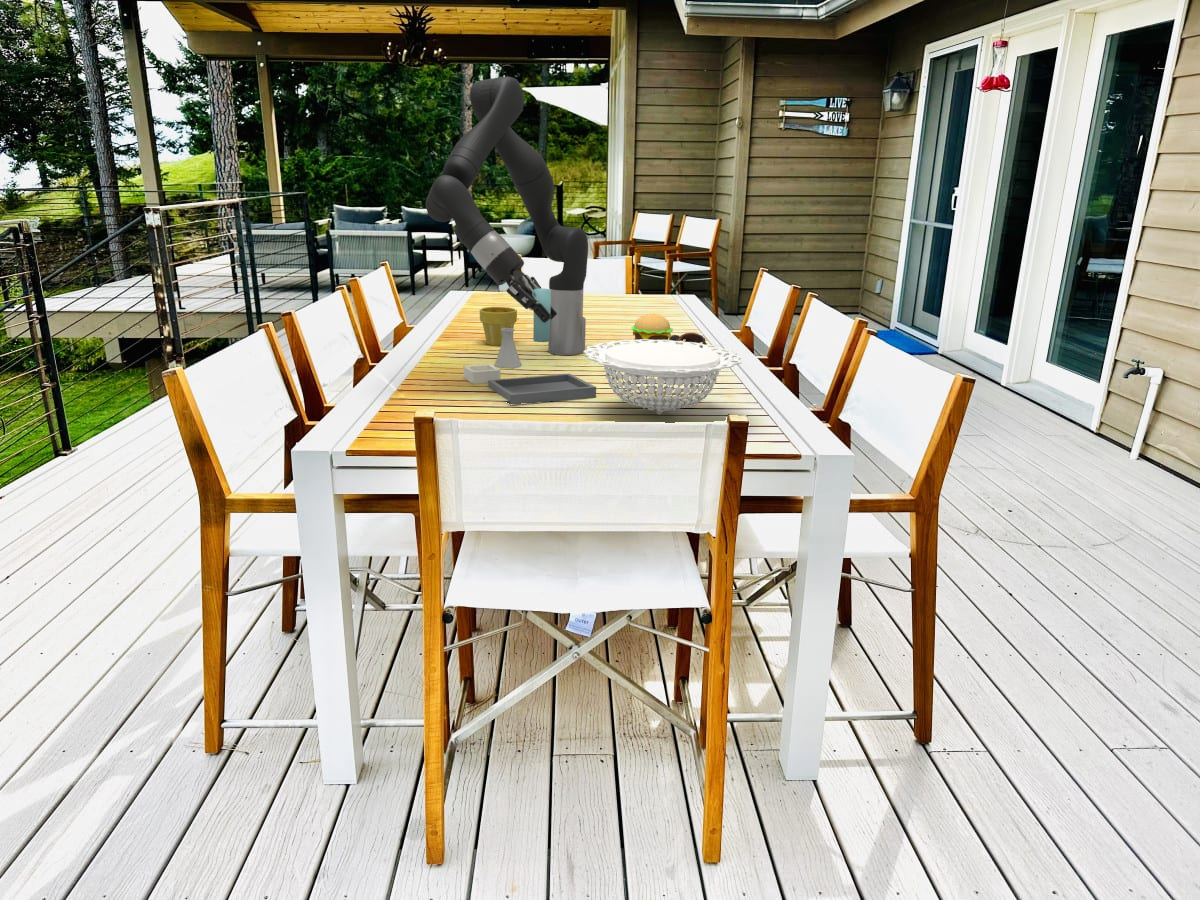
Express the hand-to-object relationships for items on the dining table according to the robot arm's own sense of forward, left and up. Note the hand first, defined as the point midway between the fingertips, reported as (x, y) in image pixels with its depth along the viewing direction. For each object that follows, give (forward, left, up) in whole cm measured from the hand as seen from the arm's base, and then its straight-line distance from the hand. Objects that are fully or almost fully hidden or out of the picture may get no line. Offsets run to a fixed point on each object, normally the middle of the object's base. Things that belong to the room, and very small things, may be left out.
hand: (550, 318), depth 183 cm
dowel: (+2, -1, -5) cm, 5 cm away
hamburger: (-51, -44, -17) cm, 70 cm away
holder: (+11, -15, -17) cm, 25 cm away
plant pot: (-9, -58, -17) cm, 61 cm away
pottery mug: (-50, -23, -17) cm, 58 cm away
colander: (-14, +23, -17) cm, 32 cm away
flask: (0, -27, -17) cm, 32 cm away
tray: (+2, -1, -17) cm, 17 cm away
